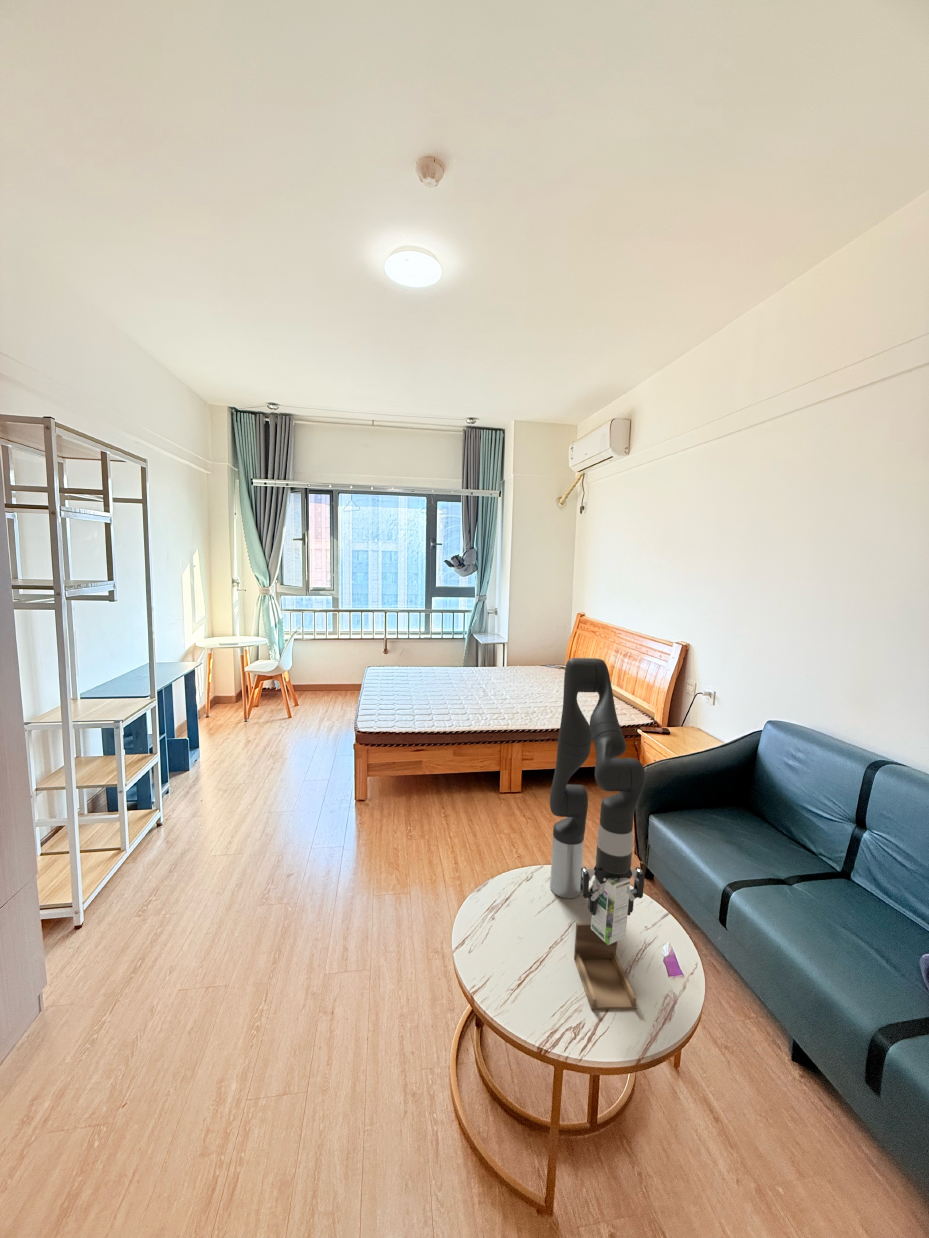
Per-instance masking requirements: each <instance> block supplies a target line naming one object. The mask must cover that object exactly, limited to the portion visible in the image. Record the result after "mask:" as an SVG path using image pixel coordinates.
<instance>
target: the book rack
mask: <svg viewBox="0 0 929 1238" xmlns="http://www.w3.org/2000/svg"><path fill="white" fill-rule="evenodd" d="M575 923H576V924H575V925H576V926H575V939H574V953H573V961H574V964H575V966H576V969H577V973H578V974H579V978H580V980H581V983H582V987H583V990H584V992H585V995H586V998H587V999H586V1000H587V1001H588V1005H589V1007H590V1010H591V1011H594V1010H596V1011H598V1010H599V1011H600V1010H605V1011H606V1010H635V1009H636V1010H637V997H636V995H635V993H634V990H633V988H632V986H631V983H630V981H629V979H628V977H627V974H626V972H625V970H624V968H623V965H622V963H621V961H620V959H619V957H618V955H617V948H618V947H617V946H618V941H616V942H614V943H612V944H610V945H607V944H606V943H605V942H604V941H603V940H602V939H601V938H600V937H599V936H598V935H597V934H596V933H595V932H594V931H592V930H591V921H577V922H575Z"/></svg>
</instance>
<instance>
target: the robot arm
mask: <svg viewBox="0 0 929 1238" xmlns="http://www.w3.org/2000/svg"><path fill="white" fill-rule="evenodd" d="M563 679H564V680H563V697H562V698H563V699H562V712H561V720H560V727H559V732H558V739H557V751H556V761H555V768H554V773H553V777H552V778H553V779H552V783H551V788H550V794H549V808H550V812H551V813H552V814H553V816H555V817H559V818H560V817H561V818H564V819H560V820H558V821H557V822H555V823H554V825H553V828H552V843H551V844H552V845H551V846H552V847H551V862H550V864H551V865H550V880H549V888H550V890H551V892H552V893H553V894H555V896H558V898H559V897H560V898H563V899H574V898H577V897H579V895H580V894H582V897H583V898H584V899H587V908H588V912H589V913H591V916H592V915H596V905H597V901H596V899H597V897H598V896H599V895H600V894H602V893H603V892H604V889H605V887H604V886H605V883H606V882H607V880H612V877H617V878H618V880H624V879H623V878H630V879H631V878H633V880H634V881H633V888H632V889H631V888H630V889H629V887H628V886H627V894H628V893H629V903H628V915H627V916H631V914H632V913H633V912H634V901H635V899H637V898H638V899H642V898H643V897H644V889H645V875H646V874H644V872H643V870H642V869H641V867H639V866H637V867H635V869H631V868H632V857H633V848H634V835H633V829H634V816H635V815H634V814H635V812H636V811H635V810H636V807H637V805H638V802H639V800H640V797H641V795H642V792H643V791H644V787H645V784H646V770H645V767H644V766H643V764H642V762H641V761H640V760H638V759H637V758H635V757H634V758H633V757H620V756H622V755H624V753H625V752H626V750H627V743H626V739H625V737H624V734H623V731H622V728H621V725H620V722H619V720H618V715H617V711H616V705H615V704H616V703H615V698H614V693H613V692H614V691H613V687H612V682H611V676H610V671H609V669H608V666H607V664H606V662H605V660H603V659H601V658H595V657H594V658H593V657H592V658H591V657H589V658H588V657H572V658H571V657H570V658H569V659H568V660H567V662H566V664H565V668H564V678H563ZM578 693H597V694H598V701H597V703H596V705H595V707H594V709H593V711H592V713H591V716H590V717H589V719H590V720H589V721H588V720H587V719H586V717H585V716H584V715H585V714H584V713H583V711H582V710H581V708H580V706H579V703H578ZM592 743H593V745H594V751H595V767H594V779H595V782H596V785H597V786H598V787H599V788H600V789H601V790H603V791H606V792H617V793H616V794H614V795H609V796H607V797H604V798H602V801H601V804H600V815H599V826H598V829H597V839H596V853H595V854H596V855H595V866H594V867H593V868H589V869H588V868H587V867H586V866H583V861H584V860H583V857H584V843H585V833H586V824H587V823H586V822H587V817H588V816H587V815H588V807H589V794H588V791H587V788H586V787H585V786H584V785H582V784H569V783H568V782H569V781H570V779H571V777H572V776H573V775H574V774H575V773H576V772H577V771H578V770H579V769H580V767H582V765H583V764H584V763H585V762H586V761H587V759H588V758H589V755H590V753H591V747H592ZM593 877H594V879H593ZM595 877H596V878H597V880H598V881H599V882H600V884H601V885H600V886H598V885H597V884H596V882H595V881H594V880H595ZM604 878H606V881H603V879H604ZM592 879H593V881H592ZM590 881H592V884H591V885H590Z"/></svg>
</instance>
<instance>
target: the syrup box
mask: <svg viewBox="0 0 929 1238" xmlns="http://www.w3.org/2000/svg"><path fill="white" fill-rule="evenodd" d="M594 879H595V880H594ZM594 879H593V881H595V882H596V884H597V885H598V886H600V885H601V884H600V882H599V881H598V880H597V878H596V877H595V876H594ZM623 879H624V880H618V878H617V877H612V880H607V882H606V883H605V886H604V887H605V889H604V892H603V893H602V894H600V895H599V896H598V897H597V899H596V901H597V905H596V915H592V914H591V920H590V922H591V930H592V931H594V932H595V933H596V934H597V935H598V936H599V937H600V938H601V939H602V940H603V941H604V942H605V943H606V944H607V945H610V944H612V943H614V942H616V941H617V942H618V941H620V940H622V939H624V938H626V936H627V935H626V934H627V925H628V916H629V915H628V903H629V893H628V894H627V886H628V887H629V889H630V890H631V878H623ZM603 881H606V878H604V879H603Z"/></svg>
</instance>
